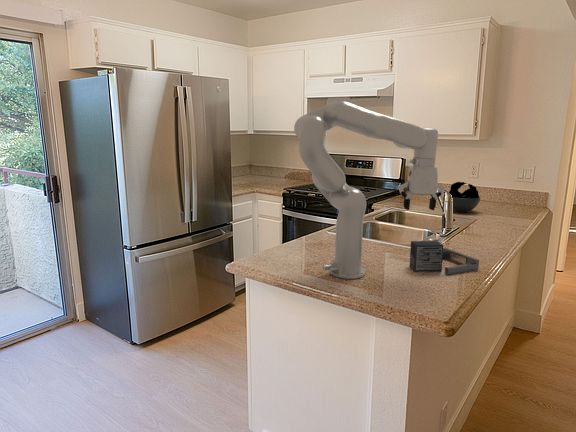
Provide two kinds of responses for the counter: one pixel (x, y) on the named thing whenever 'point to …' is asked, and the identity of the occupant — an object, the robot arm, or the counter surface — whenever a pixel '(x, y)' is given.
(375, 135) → the robot arm
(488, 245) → the counter surface
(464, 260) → the rack bay
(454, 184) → the coal bowl
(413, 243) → the small box
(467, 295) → the counter surface
